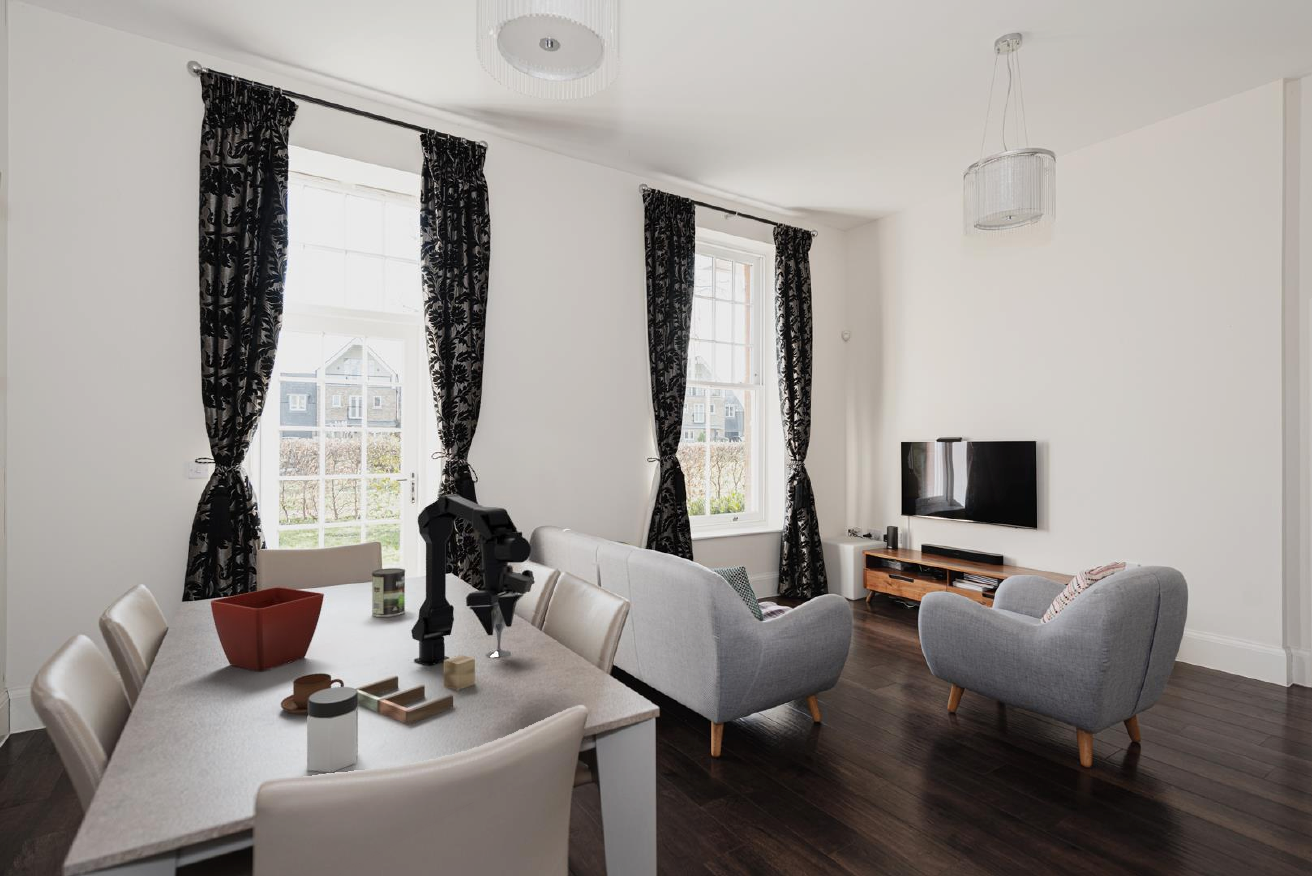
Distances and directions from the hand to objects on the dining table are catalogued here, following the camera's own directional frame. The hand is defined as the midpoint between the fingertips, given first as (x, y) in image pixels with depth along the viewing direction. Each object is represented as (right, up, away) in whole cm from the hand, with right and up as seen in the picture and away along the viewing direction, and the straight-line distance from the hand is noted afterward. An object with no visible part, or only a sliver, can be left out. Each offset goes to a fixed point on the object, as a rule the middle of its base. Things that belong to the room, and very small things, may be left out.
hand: (499, 630), depth 158 cm
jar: (-22, -14, -35) cm, 44 cm away
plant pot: (-65, -14, +20) cm, 69 cm away
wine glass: (-6, -14, +26) cm, 30 cm away
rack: (-19, -13, -9) cm, 25 cm away
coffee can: (-53, -14, +69) cm, 88 cm away
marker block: (-10, -14, +3) cm, 17 cm away
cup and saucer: (-38, -14, -10) cm, 42 cm away
